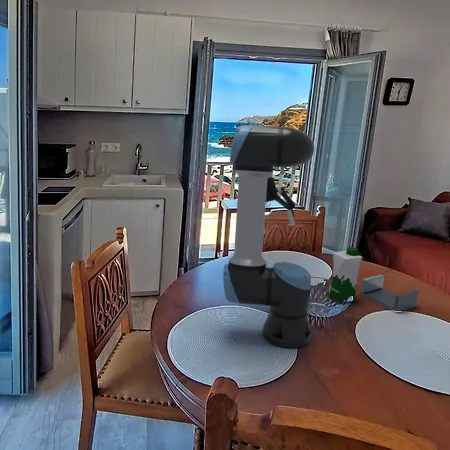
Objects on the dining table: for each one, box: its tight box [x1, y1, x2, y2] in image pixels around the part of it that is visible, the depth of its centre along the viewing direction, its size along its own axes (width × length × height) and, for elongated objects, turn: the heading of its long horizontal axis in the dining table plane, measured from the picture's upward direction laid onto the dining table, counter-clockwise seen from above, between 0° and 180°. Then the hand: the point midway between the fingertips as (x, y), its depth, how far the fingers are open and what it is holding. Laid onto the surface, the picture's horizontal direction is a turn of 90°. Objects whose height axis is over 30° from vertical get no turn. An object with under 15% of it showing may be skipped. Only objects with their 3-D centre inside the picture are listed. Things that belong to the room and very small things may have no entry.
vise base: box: [360, 287, 419, 312], centre depth 167 cm, size 17×11×6 cm, turn 32°
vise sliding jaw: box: [360, 274, 385, 292], centre depth 173 cm, size 2×11×5 cm, turn 122°
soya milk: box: [328, 246, 363, 304], centre depth 165 cm, size 9×9×20 cm
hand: (278, 229), depth 177 cm, fingers open, 13 cm apart
